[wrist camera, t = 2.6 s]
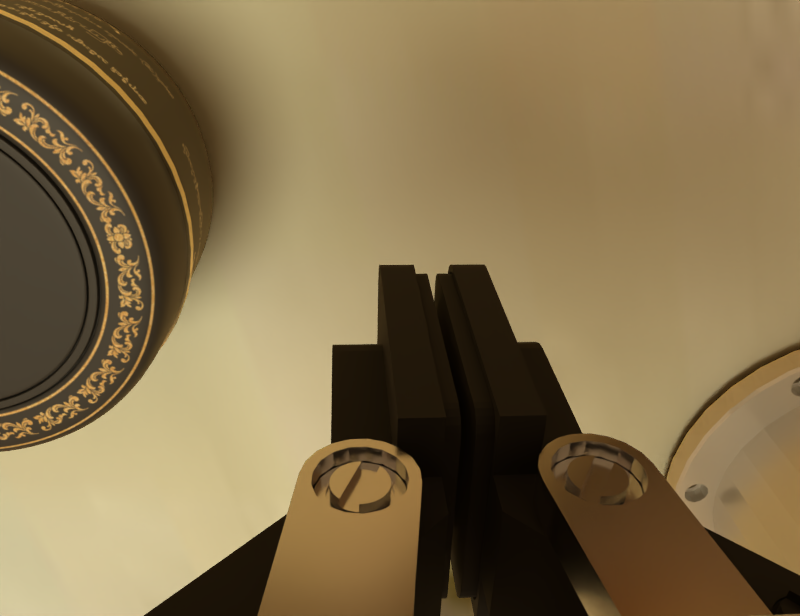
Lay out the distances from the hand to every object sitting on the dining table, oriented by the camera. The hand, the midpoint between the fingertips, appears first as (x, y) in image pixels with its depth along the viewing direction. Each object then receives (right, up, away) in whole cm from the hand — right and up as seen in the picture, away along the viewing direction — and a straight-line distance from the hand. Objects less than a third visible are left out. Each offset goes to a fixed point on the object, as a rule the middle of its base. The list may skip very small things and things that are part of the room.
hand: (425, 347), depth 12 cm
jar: (-11, +5, +10) cm, 15 cm away
